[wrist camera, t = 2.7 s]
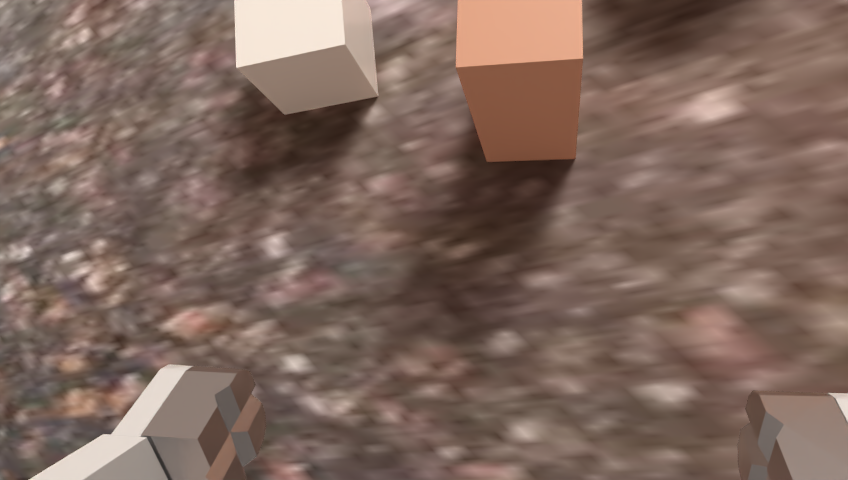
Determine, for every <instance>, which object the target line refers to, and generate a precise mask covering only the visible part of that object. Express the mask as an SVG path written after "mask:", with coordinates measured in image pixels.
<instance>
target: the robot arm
mask: <svg viewBox="0 0 848 480" xmlns="http://www.w3.org/2000/svg"><path fill="white" fill-rule="evenodd" d="M255 385H256V384H255V382H254V379H253V377H252V374H251V372H250V371H248V370H245V369H235V368H220V367H206V366H184V365H170V364H169V365H167V366H165V367H163V368H162V369H160V370H159V372H158V373H157V374H156V376H155V377H154V378H153V380H152V381H151V382H150V384H149V385H148V386H147V388H146V389H145V390H144V392H143V393H142V394H141V396H140V397H139V398H138V400H137V401H136V402H135V404H134V405H133V406H132V407H131V409H130V410H129V411H128V413H127V414H126V415H125V417H124V418H123V419H122V421H121V422H120V423H119V425H118V426H117V427H116V429H115V430H114V431H113V433H112V434H111V435H108V434H103V435H101V436H100V437H98V438H96V439H95V440H93V441H91V442H90V443H88V444H87V445H85V446H83V447H82V448H80V449H78V450H77V451H75V452H73V453H72V454H70V455H69V456H67V457H65V458H64V459H62V460H60V461H59V462H57V463H55V464H54V465H52V466H51V467H49V468H47V469H46V470H44V471H42V472H41V473H39V474H37V475H36V476H34V477H33V478H31V479H29V480H246V475H245V471H244V466H245V465H246V464H247V463H249V462H250V461H251V460H253V459H254V458H255V457H257V455H258V453H259V450H260V448H261V446H262V444H263V441H264V435H265V430H266V415H265V411H264V408H263V405H262V403H261V402H260V401H259V400H258V399H257V398H256V397H254V396H253V395H252V394H251V393H252V391H253V389H254V387H255ZM745 409H746V412H747V415H748V418H749V421H750V423H748V424H747V425H746V426H744V427H743V428H742V429H740V435H739V440H738V466H739V472H740V477H741V480H848V394H845V393H827V394H825V393H813V392H784V391H754V390H753V391H752V392H751V394H750V395H749V396H748V400H747V404H746V408H745Z"/></svg>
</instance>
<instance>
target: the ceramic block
mask: <svg viewBox="0 0 848 480" xmlns="http://www.w3.org/2000/svg"><path fill="white" fill-rule="evenodd" d="M234 2H235V39H236V68H237V69H238V70H239V71H240V72H241V73H242V74H243V75H244V76H245V77H246V78H247V79H248V80H249V81H250V82H251V83H252V84H253V85H254V86H256V87H257V88H258V89H259V90H260V91H261V92H262V93H263V94H264V95H265V96H266V97H267V98H268V99H269V100H270V101H271V102H272V103H273V104H274V105H275V106H276V107H277V108H278V109H279V110H280V111H281V112H282V113H283V114H284V115H286V114H291V113H297V112H302V111H307V110H312V109H317V108H322V107H327V106H332V105H337V104H342V103H347V102H352V101H358V100H363V99H368V98H373V97H378V87H377V76H376V65H375V54H374V43H373V32H372V21H371V10H370V7H369V5H368V3H367V1H366V0H234Z"/></svg>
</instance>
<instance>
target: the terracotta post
mask: <svg viewBox="0 0 848 480" xmlns="http://www.w3.org/2000/svg"><path fill="white" fill-rule="evenodd" d="M582 64H583V38H582V0H458V14H457V47H456V69H457V72H458V75H459V78H460V81H461V84H462V88H463V91H464V94H465V97H466V100H467V103H468V106H469V109H470V112H471V115H472V118H473V121H474V124H475V127H476V130H477V133H478V136H479V140H480V143H481V146H482V149H483V152H484V155H485V158H486V161H487V162H502V161H529V160H557V159H575V157H576V144H577V131H578V117H579V104H580V91H581V77H582Z"/></svg>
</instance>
